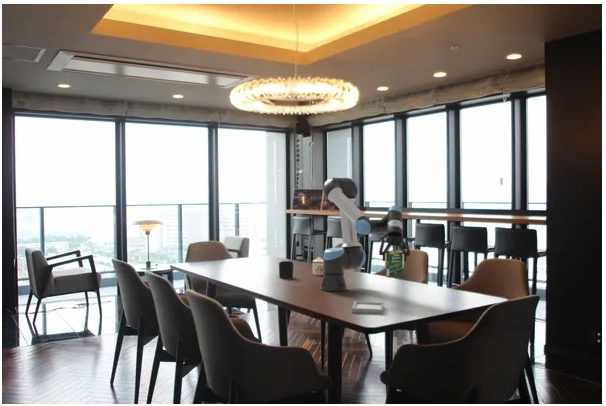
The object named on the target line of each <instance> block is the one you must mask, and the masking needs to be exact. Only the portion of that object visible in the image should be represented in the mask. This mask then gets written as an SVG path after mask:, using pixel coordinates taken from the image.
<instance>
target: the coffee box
mask: <svg viewBox="0 0 606 406" xmlns="http://www.w3.org/2000/svg"><path fill="white" fill-rule="evenodd" d="M385 269H386V273H385V276H386V278H398V277H399V278H401V277H403V268H402V250H400V249H393V250H388V251H387V261H386V267H385Z"/></svg>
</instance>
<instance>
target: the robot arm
mask: <svg viewBox="0 0 606 406" xmlns="http://www.w3.org/2000/svg"><path fill="white" fill-rule="evenodd" d="M322 192H323V195H324V196H325V198H326V199H327V200H328V201H329V202H330V203H331V202H332V203H334V205H335V206H336V207H337V208H338V209H339V214H340V224H341V235H342V244H341V246H340V247H331V248H327V249H325V250H324V252H323V258H322V259H323V260H324V275H322V279H321V282H320V285H319V286H320V288H319V289H320V290H322V291H324V292H325V291H326V292H344V291H347V290H348V289H347V288H348V287H347V286H348V285H347V282H346V279H345V276H344V275H345V271H346V270H347V271H348V270H356V269H357V270H358V269H361V268H362V267H363V266H364V265H365V263H366V260H367V255H366V252H365V250H364V249H362V247H361V244H360V243H359V242H358V235H375V236H378V237H381V239H380V240H381V244H380V246H379V251H378V252H379V254H378V255H379V256H382V261H383V262H384V268H386V261H387V251H390V248H392V246H393V247H394V246H395V247H398V249H399V250H402V269H403V268H405V263H406V262H407V258H408V257H410V256H411V250H410V246H409V238H408V237H406V238H404V237H403V215H404V214H403V210H402V207H400V206H398V205H391V206H390V207H388V210H387V214H386V215H384V217H382V218H381V219H369V218H368V217H367V216H366V215H365V214H364V213H363V212H362V210H360V208H358V206H357V205H355V202H356V200H357V198H356V197H357V196H358V195H359V193H360V186H359V183H358V182H357V181H356V180H355V179H354V178H351V177H329V178H328V179H327V180H326V181H324V184H323V186H322ZM385 235H387V236H386V237H384V236H385ZM386 242H387V244H386V246H385V243H386ZM402 243H404V246H405V248H404V246H403V244H402ZM384 246H385V248H384ZM405 249H406V250H405Z"/></svg>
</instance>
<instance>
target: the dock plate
mask: <svg viewBox="0 0 606 406" xmlns="http://www.w3.org/2000/svg"><path fill="white" fill-rule="evenodd" d="M351 313H352V314H365V315H366V314H367V315H383V314H384V302H383V301H381V302H379V301H363V300H362V301H360V300H357V301H356V300H354V302H353V305H352V307H351Z"/></svg>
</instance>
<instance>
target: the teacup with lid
mask: <svg viewBox="0 0 606 406" xmlns="http://www.w3.org/2000/svg"><path fill="white" fill-rule="evenodd" d="M312 275H314V276H323V275H324V259H323V258H321V257H320V256H317V258H315V259H313V260H312Z"/></svg>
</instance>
